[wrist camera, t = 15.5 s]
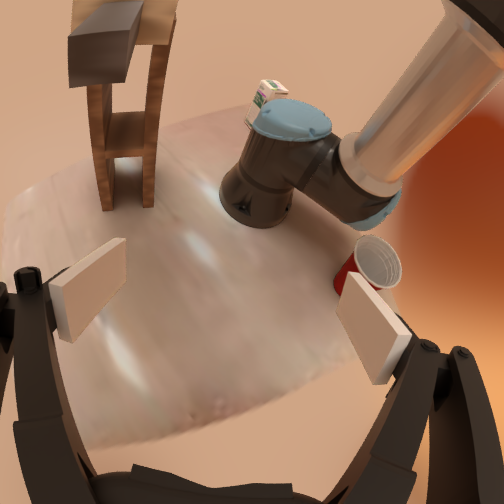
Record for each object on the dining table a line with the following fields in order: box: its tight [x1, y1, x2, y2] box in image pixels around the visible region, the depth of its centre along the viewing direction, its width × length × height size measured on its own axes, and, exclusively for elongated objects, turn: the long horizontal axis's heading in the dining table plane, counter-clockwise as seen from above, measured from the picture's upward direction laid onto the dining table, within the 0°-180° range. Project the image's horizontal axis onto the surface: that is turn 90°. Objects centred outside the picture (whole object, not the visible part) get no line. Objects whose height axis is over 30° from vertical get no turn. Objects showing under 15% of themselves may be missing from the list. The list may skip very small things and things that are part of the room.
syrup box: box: [244, 80, 289, 129], centre depth 66 cm, size 6×6×14 cm
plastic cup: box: [334, 235, 402, 296], centre depth 50 cm, size 11×11×12 cm
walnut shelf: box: [87, 12, 176, 211], centre depth 36 cm, size 10×10×35 cm
